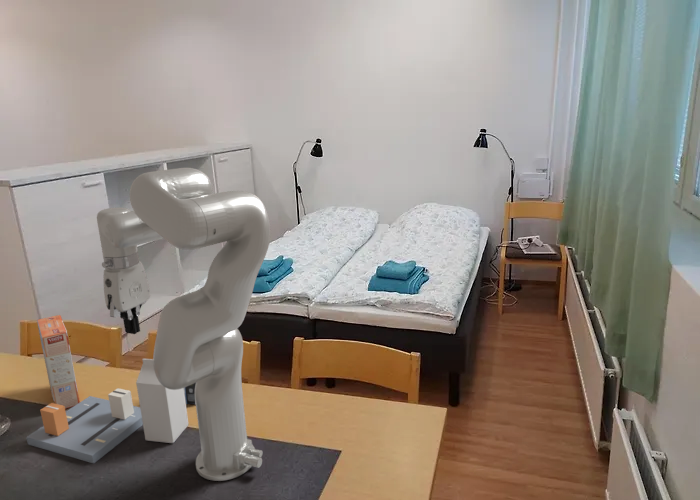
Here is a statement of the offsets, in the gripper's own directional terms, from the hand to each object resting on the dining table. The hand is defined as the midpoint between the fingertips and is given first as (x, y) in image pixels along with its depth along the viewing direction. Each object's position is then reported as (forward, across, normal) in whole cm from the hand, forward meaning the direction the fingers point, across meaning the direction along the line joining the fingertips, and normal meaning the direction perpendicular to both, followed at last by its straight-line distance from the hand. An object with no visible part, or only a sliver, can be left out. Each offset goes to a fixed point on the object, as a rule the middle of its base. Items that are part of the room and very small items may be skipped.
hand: (132, 332), depth 126 cm
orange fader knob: (+19, -17, +10) cm, 27 cm away
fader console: (+21, -12, +5) cm, 25 cm away
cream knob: (+19, -7, 0) cm, 20 cm away
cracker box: (+21, -3, +24) cm, 32 cm away
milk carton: (+21, -7, -13) cm, 26 cm away
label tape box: (+21, +6, -8) cm, 23 cm away
